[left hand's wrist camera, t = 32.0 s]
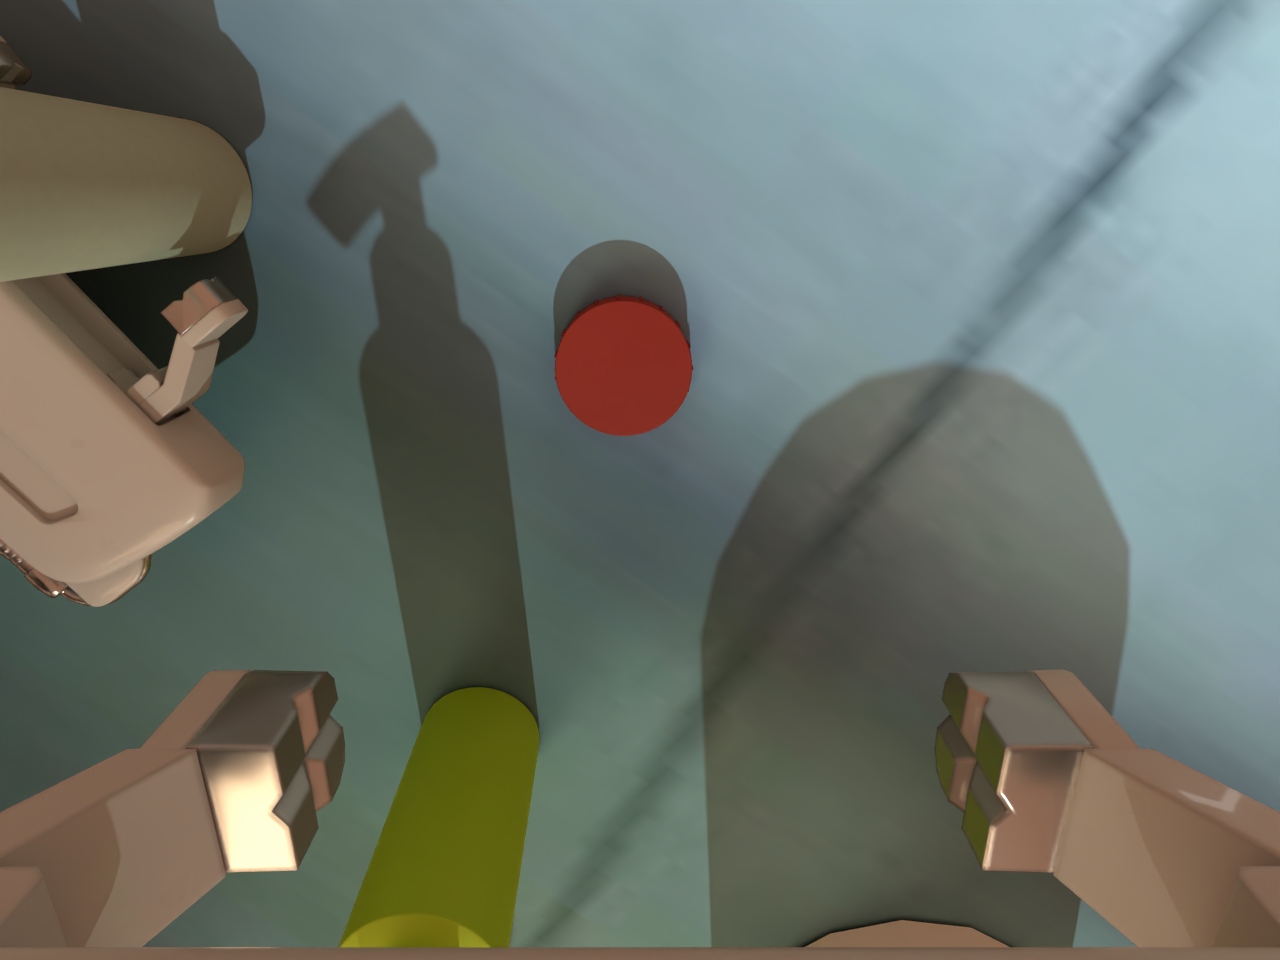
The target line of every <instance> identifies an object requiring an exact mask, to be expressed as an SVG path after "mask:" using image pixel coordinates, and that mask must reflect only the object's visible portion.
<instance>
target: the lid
mask: <svg viewBox="0 0 1280 960" xmlns="http://www.w3.org/2000/svg"><path fill="white" fill-rule="evenodd" d="M561 336H563V337H562V339H561V342H560V344H559V347H558V350H557V351H556V353H555V357H556V361H555V374H556V376H555V380H556V381H557V385H558V389H559V391H560V394H561V396H562V398H563V401H564V402H565V404H566V405H567V407H568V408H569V409H570V411H571V412H572V413H573V414H574V415H575V416H576V417H577V418H578V419H579V420H580V421H582V422H583V423H584V424H586V425H588V426H589V427H591V428H593V429H595V430H597V431H600V432H603V433H606V434H611V435H618V436H629V435H637V434H642V433H645V432H648V431H650V430H652V429H655V428H657V427H658V426H660V425H661V424H663V423H665V422H666V421H667V420H668V419H669V418H671V417H672V416H673V414H674V413H675V412H676V411H677V410H678V409H679V407H680V406H681V404H682V403H683V401H684V399H685V397H686V395H687V392H688V391H689V387H690V382H691V376H692V370H693V366H692V360H691V354H690V350H689V348H690V344H689V342H688V341H686V340H685V337H684V335H683V333H682V331H681V329H680V324H679V322H678V321H676V322H675V320H674V319H673V318H672V317H671V316H670V315H669V314H668V313H667V312H666V311H665V310H664V309H663V306H660V307H659V306H658V305H656V304H654V303H652V302H650V301H647V300H644V299H643V298H642V297H641V296H640V298H637V297H631V296H620V294H617V296H615V297H610V298H605V299H602V300H599V301H598V299H597V300H595V303H593V304H591V305H589V306H588V307H586V308H585V309H583V310H582V311H581V312H580V313H579V312H577V313H576V315H575V318H574V319H573V320H572V321H571V323H570V324H569V326H568V327H567V329H566V330H565V329H564V330H563V332H562V335H561Z"/></svg>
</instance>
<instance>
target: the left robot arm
mask: <svg viewBox="0 0 1280 960" xmlns="http://www.w3.org/2000/svg"><path fill="white" fill-rule="evenodd" d="M337 700H338V696H337V691H336V686H335V681H334V678H333V677H332V676H331V675H330V674H329V673H328V672H319V671H271V670H254V671H250V670H216V671H212V672H209V673H207V674H206V675H205V676H204V677H203V678H202V679H201V680H200V681H199V682H198V683H197V685H196V686H195V687H194V688H193V689H192V690H191V691H190V692H189V694H188V695H187V696H186V697H185V698H184V699H183V700H182V701H181V703H180V704H179V705H178V706H177V707H176V708H175V709H174V710H173V712H172V713H171V714H170V715H169V716H168V717H167V718H166V720H165V721H164V722H163V723H162V724H161V725H160V726H159V727H158V729H157V730H156V731H155V732H154V733H153V734H152V735H151V736H150V738H149V739H148V740H147V741H146V742H145V743H144V744H143V745H142V747H141V748H140V749H126V750H124V751H122V752H120V753H118V754H116V755H114V756H112V757H110V758H108V759H106V760H104V761H102V762H100V763H98V764H96V765H94V766H92V767H90V768H88V769H86V770H84V771H82V772H80V773H78V774H76V775H74V776H72V777H70V778H68V779H66V780H64V781H62V782H60V783H58V784H56V785H54V786H52V787H50V788H48V789H46V790H44V791H42V792H40V793H38V794H36V795H34V796H32V797H30V798H28V799H26V800H24V801H22V802H20V803H18V804H16V805H14V806H12V807H10V808H8V809H6V810H4V811H2V812H0V960H1280V812H1278V811H1276V810H1274V809H1272V808H1270V807H1268V806H1266V805H1264V804H1262V803H1260V802H1258V801H1256V800H1254V799H1252V798H1250V797H1248V796H1246V795H1244V794H1242V793H1240V792H1238V791H1236V790H1234V789H1232V788H1230V787H1228V786H1226V785H1224V784H1222V783H1220V782H1218V781H1216V780H1214V779H1212V778H1210V777H1208V776H1206V775H1204V774H1202V773H1200V772H1198V771H1196V770H1194V769H1192V768H1190V767H1188V766H1186V765H1184V764H1182V763H1180V762H1178V761H1176V760H1174V759H1172V758H1170V757H1168V756H1166V755H1164V754H1162V753H1160V752H1158V751H1156V750H1154V749H1140V748H1139V747H1138V745H1137V744H1136V743H1135V742H1134V741H1133V740H1132V739H1131V738H1130V736H1129V735H1128V734H1127V733H1126V732H1125V731H1124V730H1123V729H1122V727H1121V726H1120V725H1119V724H1118V723H1117V722H1116V721H1115V720H1114V718H1113V717H1112V716H1111V715H1110V714H1109V713H1108V712H1107V710H1106V709H1105V708H1104V707H1103V706H1102V705H1101V704H1100V703H1099V701H1098V700H1097V699H1096V698H1095V697H1094V696H1093V695H1092V694H1091V692H1090V691H1089V690H1088V689H1087V688H1086V687H1085V686H1084V685H1083V683H1082V682H1081V681H1080V680H1079V679H1078V678H1077V677H1076V676H1075V674H1073V673H1071V672H1069V671H1067V670H1065V669H1063V670H1033V671H1024V672H964V673H949V675H948V677H947V679H946V681H945V685H944V690H943V696H942V700H943V702H944V704H945V706H946V707H947V709H948V711H949V713H950V715H949V716H948V717H947V718H946V719H945V720H944V721H943V722H942V723H941V724H940V725H939V726H938V727H937V734H936V743H935V758H936V769H937V773H938V777H939V780H940V784H941V787H942V789H943V791H944V793H945V795H946V797H947V799H948V801H949V802H950V803H952V804H953V805H955V806H956V807H957V808H959V809H960V810H962V811H963V812H964V816H963V822H962V830H963V832H964V834H965V836H966V838H967V840H968V842H969V844H970V846H971V848H972V850H973V852H974V854H975V856H976V858H977V859H978V861H979V863H980V865H981V867H982V869H983V870H992V871H1028V872H1054V875H1053V876H1055V877H1056V878H1057V879H1058V880H1059V881H1061V882H1062V883H1063V884H1064V885H1065V886H1066V887H1068V888H1069V889H1070V890H1071V891H1072V892H1074V893H1075V894H1076V895H1077V896H1078V897H1080V898H1081V899H1082V900H1083V901H1084V902H1086V903H1087V904H1088V905H1089V906H1090V907H1091V908H1093V909H1094V910H1095V911H1096V912H1097V913H1099V914H1100V915H1101V916H1102V917H1103V918H1105V919H1106V920H1107V921H1108V922H1109V923H1111V924H1112V925H1113V926H1114V927H1115V928H1116V929H1118V930H1119V931H1120V932H1121V933H1122V934H1124V935H1125V936H1126V937H1127V938H1128V939H1130V940H1131V941H1132V942H1133V943H1134V944H1136V945H1137V946H1138V947H142V946H144V945H145V944H146V943H147V942H148V941H149V940H151V939H152V938H153V937H154V936H155V935H157V934H158V933H159V932H160V931H161V930H163V929H164V928H165V927H166V926H167V925H169V924H170V923H171V922H172V921H173V920H175V919H176V918H177V917H178V916H179V915H180V914H182V913H183V912H184V911H185V910H186V909H188V908H189V907H190V906H191V905H192V904H194V903H195V902H196V901H197V900H198V899H200V898H201V897H202V896H203V895H204V894H206V893H207V892H208V891H209V890H210V889H211V888H213V887H214V886H215V885H216V884H217V883H219V882H220V881H221V880H222V879H223V878H225V877H226V872H251V871H286V870H298V868H299V866H300V864H301V862H302V860H303V858H304V856H305V854H306V852H307V850H308V848H309V846H310V844H311V842H312V840H313V838H314V836H315V834H316V832H317V830H318V822H317V816H316V812H317V811H318V810H320V809H321V808H323V807H324V806H325V805H327V804H328V803H330V802H331V801H332V799H333V797H334V795H335V793H336V791H337V789H338V787H339V784H340V781H341V776H342V772H343V767H344V762H345V740H344V733H343V727H342V726H341V725H340V724H339V723H338V722H337V721H336V720H335V719H334V718H333V717H332V716H331V715H330V713H331V711H332V709H333V707H334V706H335V704H336V702H337Z"/></svg>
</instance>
